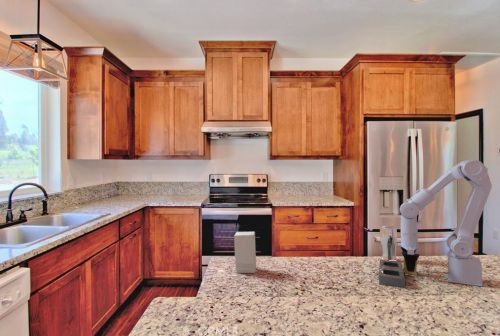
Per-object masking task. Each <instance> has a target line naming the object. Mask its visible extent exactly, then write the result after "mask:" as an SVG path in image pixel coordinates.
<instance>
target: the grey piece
mask: <svg viewBox="0 0 500 336" xmlns="http://www.w3.org/2000/svg"><path fill="white" fill-rule="evenodd" d="M378 267H379V268H378V270H379V271H378V285H381V286H388V287H396V288H400V289H406V280H405V274H404V266H403V262H402V261H389V260H382V258H381V259H379V266H378Z"/></svg>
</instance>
